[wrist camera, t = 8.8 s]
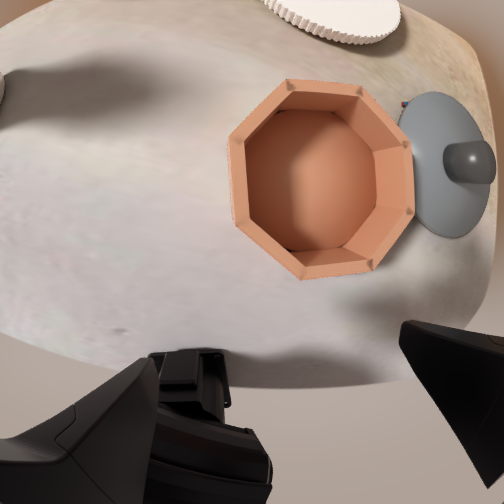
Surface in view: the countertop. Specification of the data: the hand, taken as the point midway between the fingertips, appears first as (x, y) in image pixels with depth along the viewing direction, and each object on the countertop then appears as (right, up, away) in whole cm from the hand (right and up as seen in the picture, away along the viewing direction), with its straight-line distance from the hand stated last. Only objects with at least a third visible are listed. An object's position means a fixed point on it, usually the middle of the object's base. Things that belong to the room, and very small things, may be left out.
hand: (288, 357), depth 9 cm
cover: (+17, +12, +11) cm, 23 cm away
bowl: (+3, +9, +11) cm, 14 cm away
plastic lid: (+6, +28, +8) cm, 29 cm away
